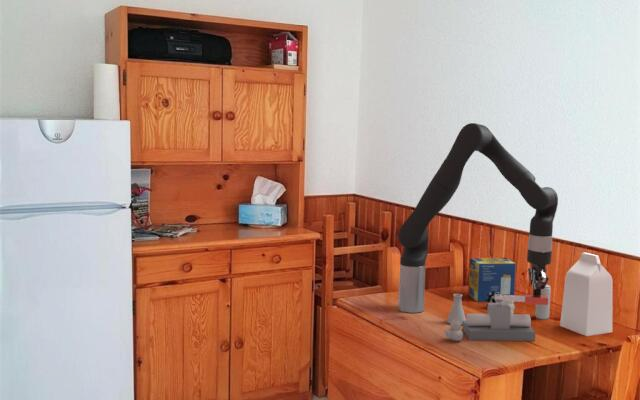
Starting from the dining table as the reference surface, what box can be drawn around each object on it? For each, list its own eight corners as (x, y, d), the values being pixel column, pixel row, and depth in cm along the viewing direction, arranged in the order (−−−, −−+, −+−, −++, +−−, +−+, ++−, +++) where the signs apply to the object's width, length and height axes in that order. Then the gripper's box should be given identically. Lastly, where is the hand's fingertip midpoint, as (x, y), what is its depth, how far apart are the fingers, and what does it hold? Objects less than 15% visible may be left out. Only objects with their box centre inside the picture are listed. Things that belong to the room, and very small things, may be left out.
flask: (468, 320, 230) (469, 293, 229) (466, 326, 224) (467, 298, 222) (447, 318, 233) (448, 291, 232) (444, 324, 226) (445, 296, 225)
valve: (519, 316, 237) (499, 307, 248) (520, 298, 236) (499, 290, 247) (504, 318, 235) (484, 309, 246) (505, 300, 234) (485, 292, 245)
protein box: (468, 295, 265) (469, 257, 263) (504, 294, 267) (506, 257, 265) (476, 302, 255) (478, 263, 253) (514, 301, 256) (516, 262, 255)
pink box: (494, 301, 213) (495, 295, 212) (494, 299, 216) (494, 292, 215) (547, 305, 209) (548, 298, 209) (546, 302, 212) (546, 295, 212)
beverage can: (532, 316, 237) (534, 283, 236) (545, 315, 237) (547, 283, 236) (538, 320, 232) (540, 287, 231) (551, 319, 233) (553, 286, 231)
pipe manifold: (469, 339, 210) (470, 305, 209) (462, 329, 221) (463, 296, 219) (534, 340, 210) (536, 306, 208) (524, 330, 220) (526, 297, 219)
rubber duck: (467, 341, 208) (468, 317, 207) (450, 344, 205) (451, 320, 204) (456, 336, 213) (457, 313, 212) (439, 339, 210) (440, 315, 209)
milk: (559, 325, 226) (563, 252, 223) (585, 322, 230) (589, 249, 227) (586, 336, 215) (591, 258, 212) (612, 332, 219) (617, 256, 216)
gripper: (521, 244, 219) (518, 294, 221) (535, 252, 206) (531, 305, 208) (544, 244, 219) (540, 294, 222) (558, 253, 206) (555, 306, 208)
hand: (536, 299), depth 215 cm, fingers closed
